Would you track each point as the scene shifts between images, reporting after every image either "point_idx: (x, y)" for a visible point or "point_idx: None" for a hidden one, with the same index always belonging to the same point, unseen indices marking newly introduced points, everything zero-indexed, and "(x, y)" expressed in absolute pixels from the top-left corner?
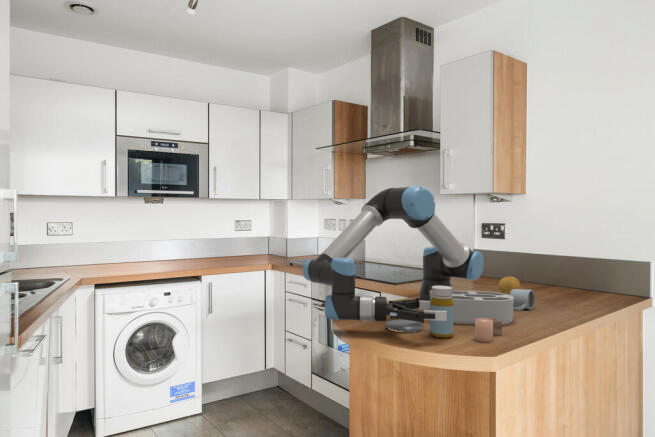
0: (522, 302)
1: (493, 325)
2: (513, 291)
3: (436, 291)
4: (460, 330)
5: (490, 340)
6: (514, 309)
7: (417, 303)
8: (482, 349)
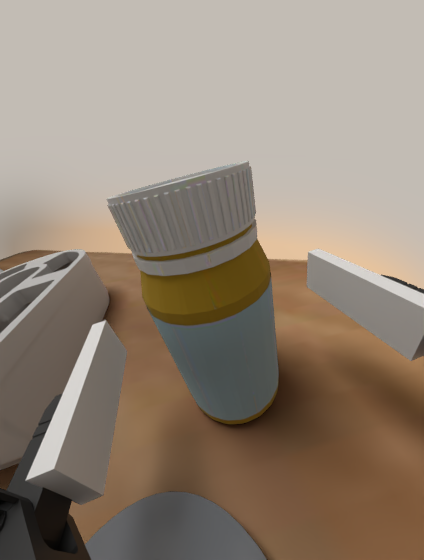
0: None
1: None
2: None
3: (249, 190)
4: (158, 344)
5: None
6: None
7: (36, 522)
8: (297, 279)
